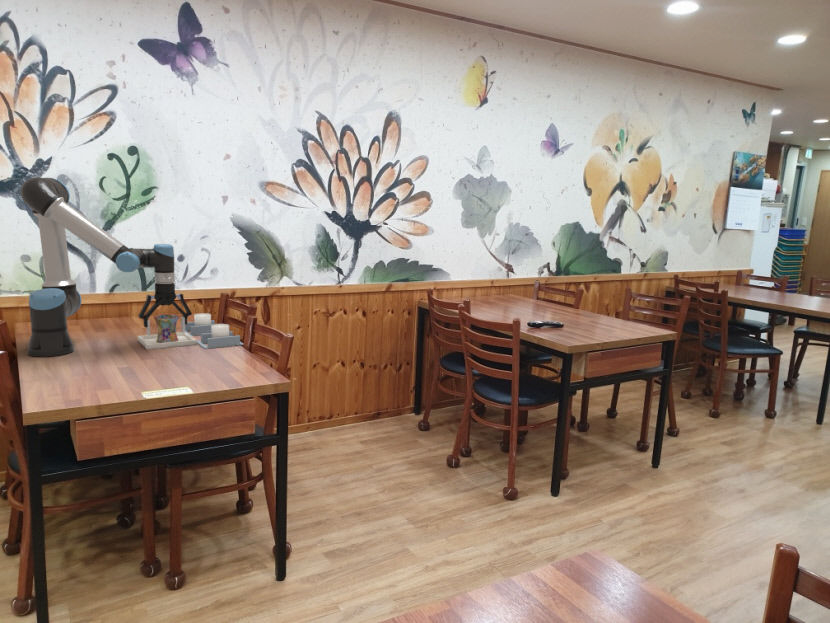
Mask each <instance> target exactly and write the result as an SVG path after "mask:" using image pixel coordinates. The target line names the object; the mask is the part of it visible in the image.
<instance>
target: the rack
mask: <svg viewBox="0 0 830 623" xmlns="http://www.w3.org/2000/svg"><path fill="white" fill-rule="evenodd" d="M214 324H216V323H215V320H214V319H211V325H214ZM211 325H202V326H195V325H194V321H187V324H186V325H185V332H186V333H187V334H189V335H190V336H191V337H193V338H194V339H195V340H196V345H198V346H200V347H201V348H203V349H204V350H207V349H209V348H210V349H215V348H218V347H219V348H226V347H227V346H229V347H236V346H235V345H238V346H244V343H243V341H242V342H241V335H234V331H232V330H231V331H230V330H229V336H227V337H217V338H212V335H211ZM196 336H200V340H199V339H198V338H197V337H196ZM206 344H207V345H206ZM227 348H228V347H227ZM210 349H209V350H210Z"/></svg>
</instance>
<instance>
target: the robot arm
mask: <svg viewBox="0 0 830 623" xmlns="http://www.w3.org/2000/svg"><path fill="white" fill-rule="evenodd" d="M20 196H21V199H22V201H23V202H24V204H26V205H27V206H28V207H29V208H31V209H32V215H33V216H34V217H36V218H37V219H38V220H37V222H38V228H39V236H40V243H41V252H42V261H43V270H44V276H45V277H44V278H45V280H44V282H43V283H42V284H41V289H36V290H34V291H32V292H31V293H30V294H29V297H28V306H29V317H30V329H31V334H30V337H29V340H28V344H27V349H26V350H27V355H28V356H32V357H39V358H40V357H41V358H44V357H45V358H46V357H48V358H49V357H57V356H63V355H68V354H71V353H72V352H74V351H75V346H74V343H73V340H72V338H71V336H70V333H69V331H68V319H67V318H69V317H71V316H73V315H74V314H76V313H77V312H78V310H79V309H80V307H81V305H82V296H81V293H80V291H79V290H77V283H76V281H74V280H73V279H72V276H71V269H70V259H69V251H68V243H67V235H66V233H67V232H66V230H67V231H69V232H70V233H71V234H73V235H74V236H76V237H77V238H79V239H80V240H81V241H83V242H84V243H85V244H87V245H89V246H90V247H91V248H93V249H94V250H95V251H97V252H99V253H100V254H101V255H103V256H104V257H105V258H106V259H108V260H109V261H111V262H113V263H114V264H115V265H116V268H118V270H120V271H121V272H123V273H133V272H135V271H136V270H138V269H141V268H142V269H143V268H147V269H149V268H150V269H152V268H154V270H153V272H154V282H155V283H154V294H153V295H151V294H146V298H145V302H144V303H143V305H142V308H141V309H140V312H139V314H138V318H139V319H141V320H143V327H144V328H145V329H146V335H148V336H150V335H151V322H150V321H151V320H150V319H149V318H150V317H151V316H152V314H153V313H154V312H155V311H156V309H157V308H159V307H160V306H171V305H172V306H173V307H174V308H175V309H176V310H177V311H178V312H179V313H180V314H181V315H182V316H180V323H181V324H180V325H181V326H180V327H181V328H180V330H181V332H183V333H185V325H186V324H187V322H188V317H189V316H192V314H193V313H192V311H191V309H190V308H189V306H188V304H187V302H186V300H185V298H184V293H181V292H180V293H177V294H176V283H174V282H175V277H176V276H175V252H174V251H175V250H174V246H173V245H172V244H169V243H168V244H167V243H157V244H156V243H155V244H154V245H153V248H133V247H128V246H126V245H125V244H123V243H122V242H121V241H119V240H118V239H117V238H115V237H113V236H112V235H111V234H110V233H108V232H107V231H106V230H104V229H103V228H101V227H100V226H99V225H97V223H94V222H93V221H91V220H90V219H89V218H88V217H86V216H85V215H84V214H82V213H81V212H79V211H78V210H77V209H75V208H73V207H72V206H71V205H69V204H68V203H69V202H70V197H71V196H70V191H69V189H68V187H67V186H66V184H64V183H63V181H60V180H59V179H55V178H53V177H41V176H40V177H39V176H36V177H35V176H34V177H31V178H29V179H26V180H25V181H24V182H23V183H22V185H21V188H20ZM176 298H177V299H178V300H179V301H180V302H181V304H182V307H183V308H184V310H183V309H182V307H180V306H179V305H178V303H176V302H175V300H176ZM153 300H155V302H154V303H153V304H152V306H151V307H150V308H149V309H148V307H149V306H150V304H151V302H152V301H153ZM147 310H148V311H147Z"/></svg>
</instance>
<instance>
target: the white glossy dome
mask: <svg viewBox="0 0 830 623" xmlns="http://www.w3.org/2000/svg"><path fill="white" fill-rule="evenodd" d="M193 318H194V321H193V322H194V325H195V326H202V325H211V320H212V314H211V313H204V312H203V313H202V312H201V313H195V314H194V316H193Z"/></svg>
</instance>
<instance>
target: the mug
mask: <svg viewBox="0 0 830 623" xmlns="http://www.w3.org/2000/svg"><path fill="white" fill-rule="evenodd" d="M153 318H154V320H155V323H156V326H157V334H158V336H157V339H156V341H157V342H159V343H166V342H176V341H178V338H177V335H176V333H177V330H176V329H177V322H178V320H179V315H176V314H160V315H159V314H158V315H155V316H153Z"/></svg>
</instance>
